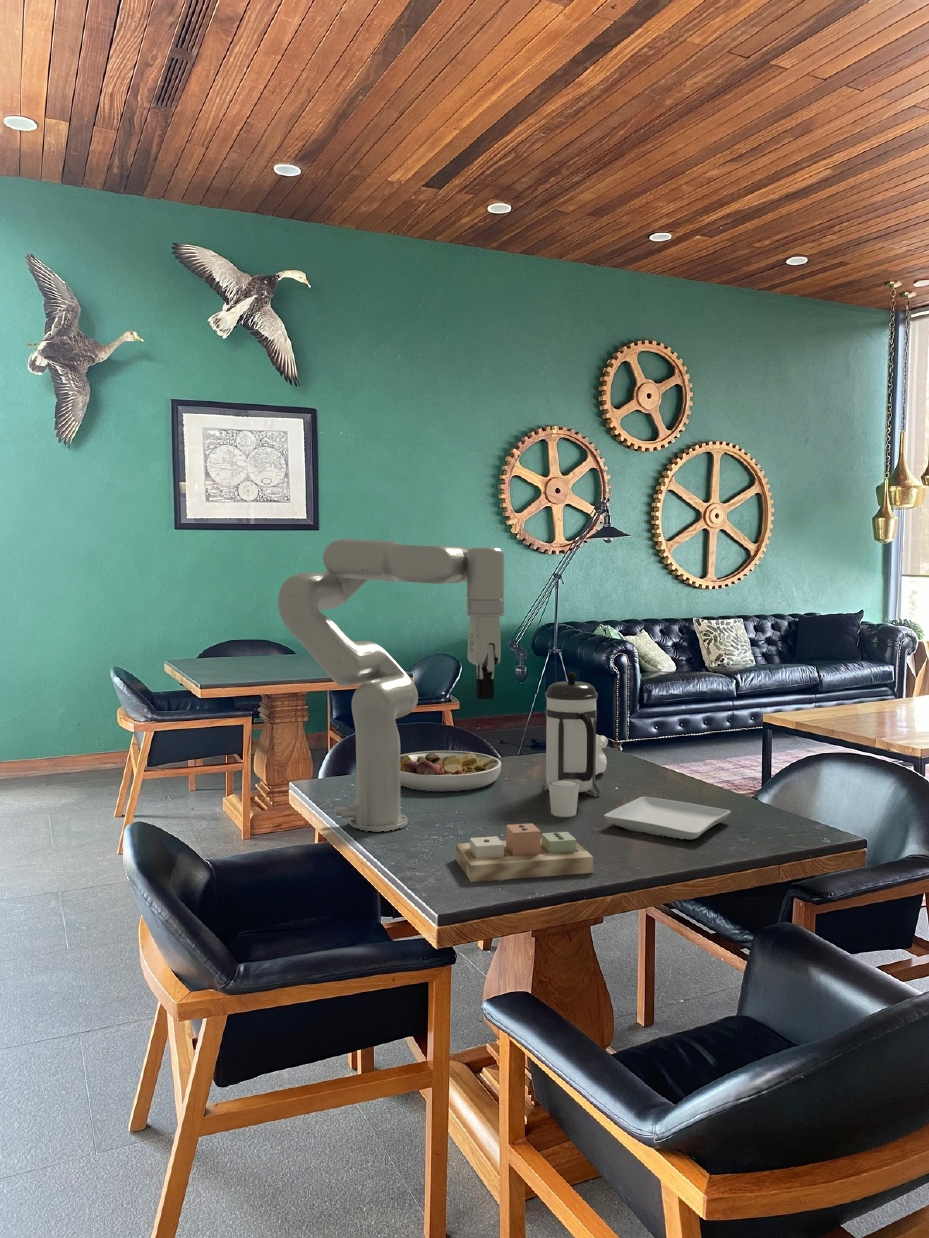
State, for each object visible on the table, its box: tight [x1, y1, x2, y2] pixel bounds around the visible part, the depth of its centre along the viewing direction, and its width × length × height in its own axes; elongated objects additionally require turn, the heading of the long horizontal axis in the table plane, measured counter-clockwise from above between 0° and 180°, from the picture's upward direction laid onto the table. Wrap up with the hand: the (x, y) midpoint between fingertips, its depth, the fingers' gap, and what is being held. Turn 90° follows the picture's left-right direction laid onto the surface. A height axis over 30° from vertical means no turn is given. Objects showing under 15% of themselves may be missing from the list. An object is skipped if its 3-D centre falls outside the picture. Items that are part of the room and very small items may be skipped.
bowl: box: [400, 750, 502, 792], centre depth 243 cm, size 30×30×8 cm
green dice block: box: [541, 831, 577, 854], centre depth 176 cm, size 5×5×5 cm
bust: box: [595, 734, 609, 776], centre depth 252 cm, size 12×8×11 cm
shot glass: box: [548, 780, 579, 818], centre depth 211 cm, size 7×7×7 cm
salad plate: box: [603, 796, 731, 841], centre depth 201 cm, size 21×21×3 cm
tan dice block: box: [505, 823, 542, 856], centre depth 175 cm, size 5×5×5 cm
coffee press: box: [541, 671, 601, 798], centre depth 227 cm, size 17×16×30 cm
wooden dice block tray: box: [455, 839, 594, 883], centre depth 175 cm, size 23×13×3 cm, turn 102°
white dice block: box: [469, 835, 504, 859], centre depth 173 cm, size 5×5×5 cm
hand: (485, 698), depth 190 cm, fingers closed
